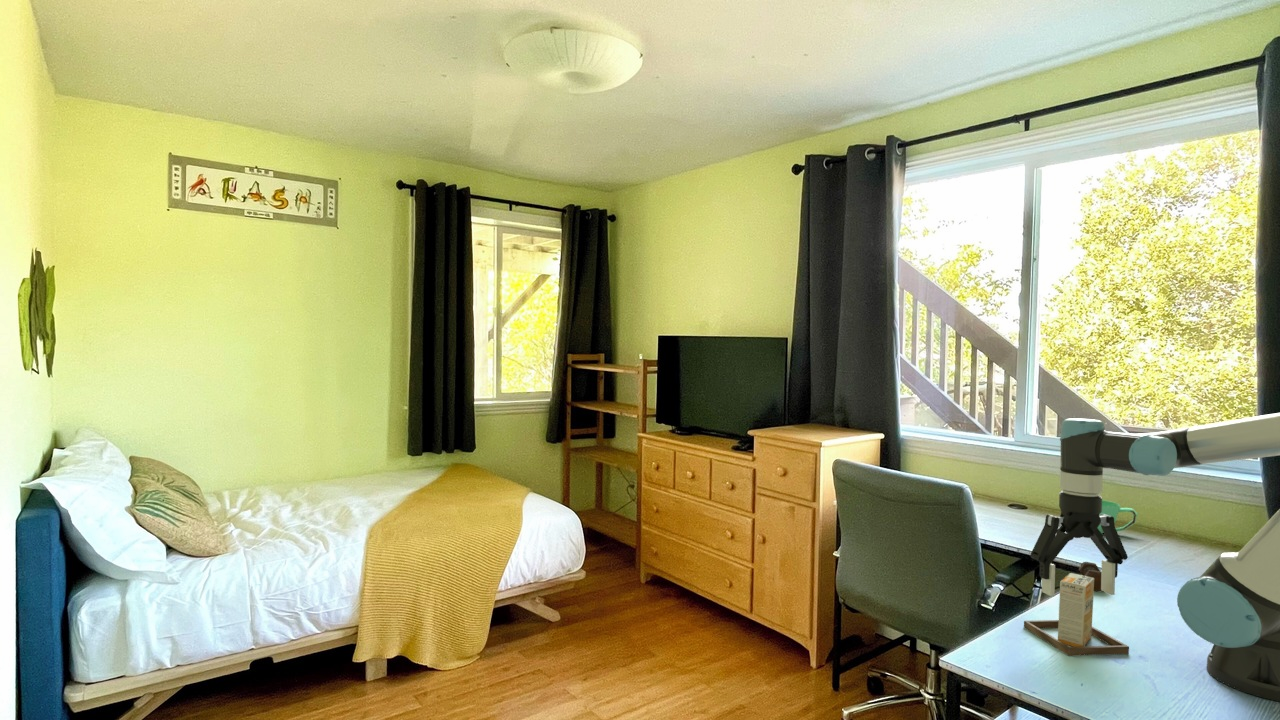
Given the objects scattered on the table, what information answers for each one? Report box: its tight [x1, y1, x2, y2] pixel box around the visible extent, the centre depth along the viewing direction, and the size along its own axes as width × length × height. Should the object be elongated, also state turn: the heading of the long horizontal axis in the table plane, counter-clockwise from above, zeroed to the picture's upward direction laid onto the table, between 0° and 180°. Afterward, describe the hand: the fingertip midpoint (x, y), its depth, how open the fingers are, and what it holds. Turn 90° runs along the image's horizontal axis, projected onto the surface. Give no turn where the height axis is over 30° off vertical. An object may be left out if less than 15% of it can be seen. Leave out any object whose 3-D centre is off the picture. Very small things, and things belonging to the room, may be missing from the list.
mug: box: [1098, 499, 1139, 533], centre depth 225 cm, size 15×10×10 cm
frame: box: [1023, 619, 1130, 657], centre depth 141 cm, size 13×13×2 cm
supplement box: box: [1057, 572, 1095, 647], centre depth 141 cm, size 8×5×13 cm, turn 135°
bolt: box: [1078, 561, 1102, 592], centre depth 177 cm, size 6×5×15 cm
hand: (1078, 593), depth 141 cm, fingers open, 13 cm apart
